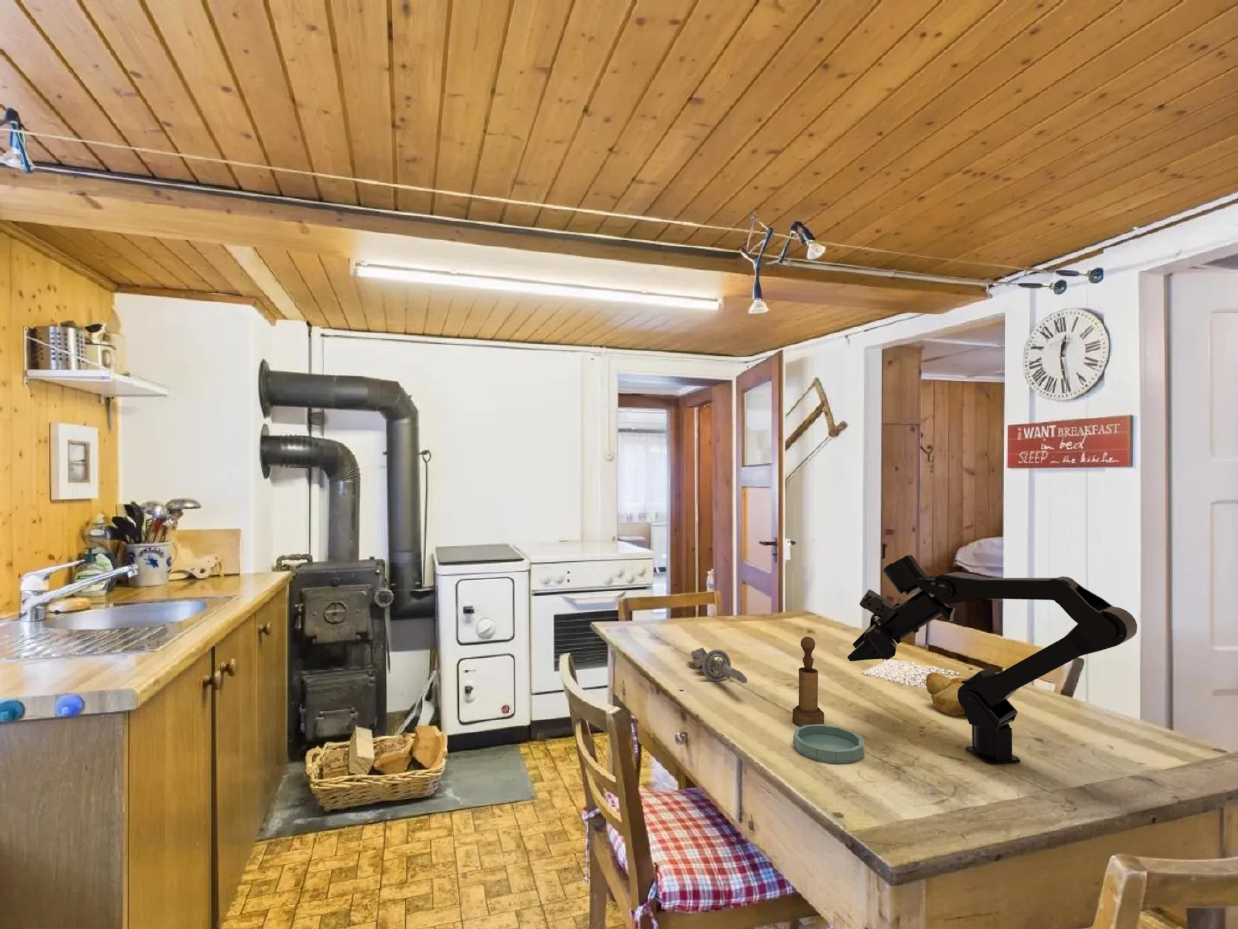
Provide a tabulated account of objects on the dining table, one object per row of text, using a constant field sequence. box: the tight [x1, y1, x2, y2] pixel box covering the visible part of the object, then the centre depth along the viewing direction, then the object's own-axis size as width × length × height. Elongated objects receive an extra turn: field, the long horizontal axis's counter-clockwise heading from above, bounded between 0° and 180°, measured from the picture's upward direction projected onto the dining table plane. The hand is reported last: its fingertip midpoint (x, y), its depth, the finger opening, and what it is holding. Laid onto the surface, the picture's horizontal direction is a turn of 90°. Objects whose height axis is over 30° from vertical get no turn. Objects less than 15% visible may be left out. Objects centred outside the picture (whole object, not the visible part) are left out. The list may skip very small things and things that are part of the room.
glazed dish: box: [792, 723, 865, 765], centre depth 119 cm, size 13×13×2 cm
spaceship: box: [689, 647, 748, 684], centre depth 159 cm, size 8×35×8 cm
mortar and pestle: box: [791, 636, 825, 727], centre depth 132 cm, size 7×6×18 cm
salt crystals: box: [860, 658, 960, 689], centre depth 165 cm, size 20×20×2 cm
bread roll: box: [925, 672, 966, 716], centre depth 139 cm, size 13×10×8 cm
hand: (851, 652), depth 133 cm, fingers open, 9 cm apart
